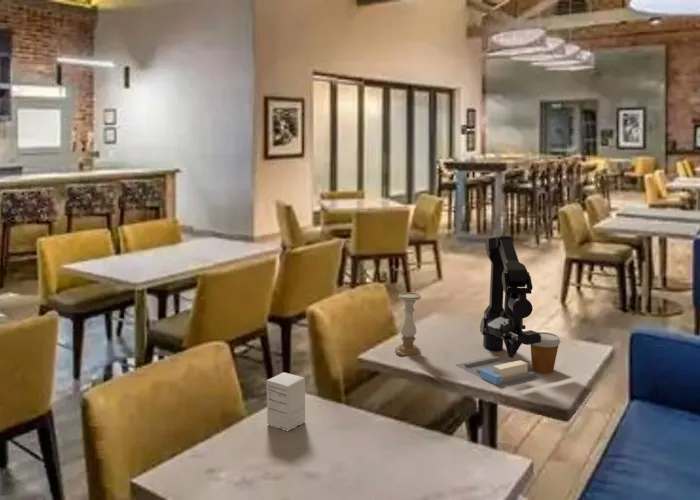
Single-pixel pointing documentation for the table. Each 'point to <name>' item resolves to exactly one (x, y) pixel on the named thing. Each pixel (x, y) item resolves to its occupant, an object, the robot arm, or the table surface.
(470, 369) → the duct tray
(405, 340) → the candle holder
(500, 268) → the robot arm
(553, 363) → the disposable coffee cup
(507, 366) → the cream rectangular block
